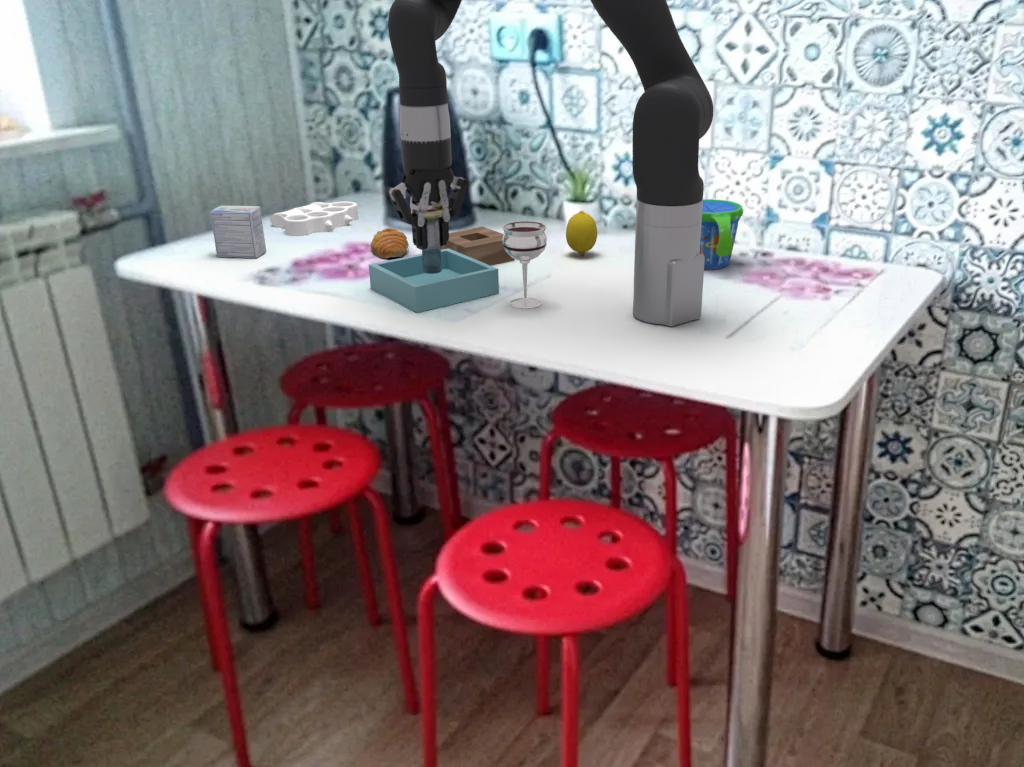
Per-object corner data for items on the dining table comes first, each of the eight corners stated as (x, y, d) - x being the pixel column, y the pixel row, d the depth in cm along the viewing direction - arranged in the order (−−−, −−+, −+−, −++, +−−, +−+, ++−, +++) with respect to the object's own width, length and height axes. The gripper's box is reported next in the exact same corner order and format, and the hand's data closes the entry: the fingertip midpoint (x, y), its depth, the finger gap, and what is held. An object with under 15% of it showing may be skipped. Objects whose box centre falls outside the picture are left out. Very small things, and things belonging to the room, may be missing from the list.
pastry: (413, 259, 173) (411, 238, 171) (375, 263, 171) (373, 242, 170) (405, 245, 181) (404, 225, 179) (369, 248, 180) (367, 228, 178)
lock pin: (451, 271, 153) (448, 209, 149) (427, 276, 151) (424, 213, 147) (437, 265, 157) (434, 204, 153) (413, 270, 154) (409, 208, 150)
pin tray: (499, 293, 153) (498, 268, 152) (416, 312, 146) (415, 287, 144) (449, 271, 165) (448, 248, 163) (370, 288, 157) (368, 264, 155)
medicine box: (267, 252, 178) (261, 205, 174) (257, 259, 174) (251, 211, 170) (227, 251, 179) (220, 204, 176) (216, 257, 175) (209, 210, 172)
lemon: (585, 261, 168) (586, 216, 165) (559, 256, 171) (559, 212, 168) (602, 254, 172) (603, 209, 169) (577, 249, 175) (577, 205, 172)
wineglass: (550, 297, 151) (550, 221, 146) (543, 311, 145) (542, 233, 140) (508, 295, 152) (506, 220, 148) (499, 309, 146) (497, 231, 141)
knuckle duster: (322, 212, 207) (374, 221, 199) (258, 231, 193) (311, 241, 186) (321, 197, 205) (373, 204, 198) (256, 215, 192) (309, 224, 184)
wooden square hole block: (514, 259, 170) (514, 237, 168) (466, 270, 165) (465, 247, 163) (483, 247, 178) (482, 226, 176) (436, 257, 172) (435, 235, 171)
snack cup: (667, 252, 172) (669, 196, 168) (725, 250, 173) (729, 194, 169) (686, 279, 158) (689, 218, 154) (749, 277, 158) (754, 215, 154)
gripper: (396, 143, 139) (403, 260, 146) (478, 132, 146) (482, 244, 153) (372, 137, 144) (380, 249, 151) (452, 126, 152) (456, 234, 159)
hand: (431, 246), depth 152 cm, fingers closed on lock pin, 3 cm apart
